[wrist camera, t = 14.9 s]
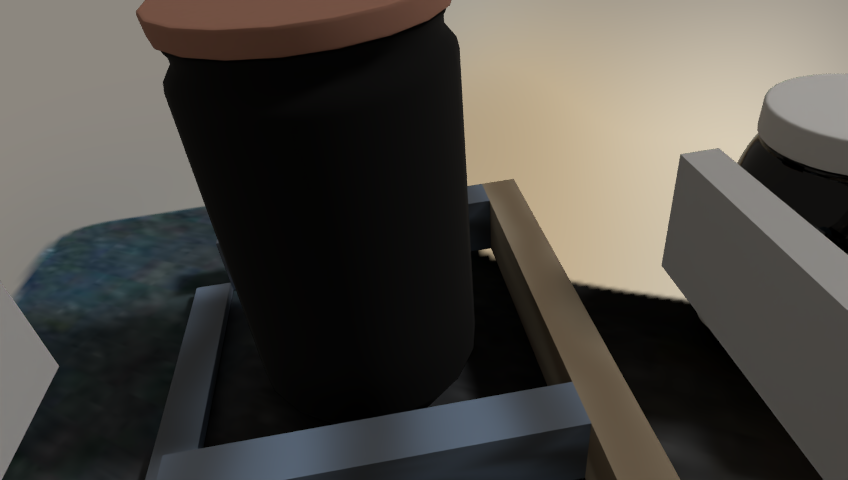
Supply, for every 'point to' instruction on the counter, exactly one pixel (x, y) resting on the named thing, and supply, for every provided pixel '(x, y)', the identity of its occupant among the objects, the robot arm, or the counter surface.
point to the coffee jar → (332, 188)
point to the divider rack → (446, 424)
